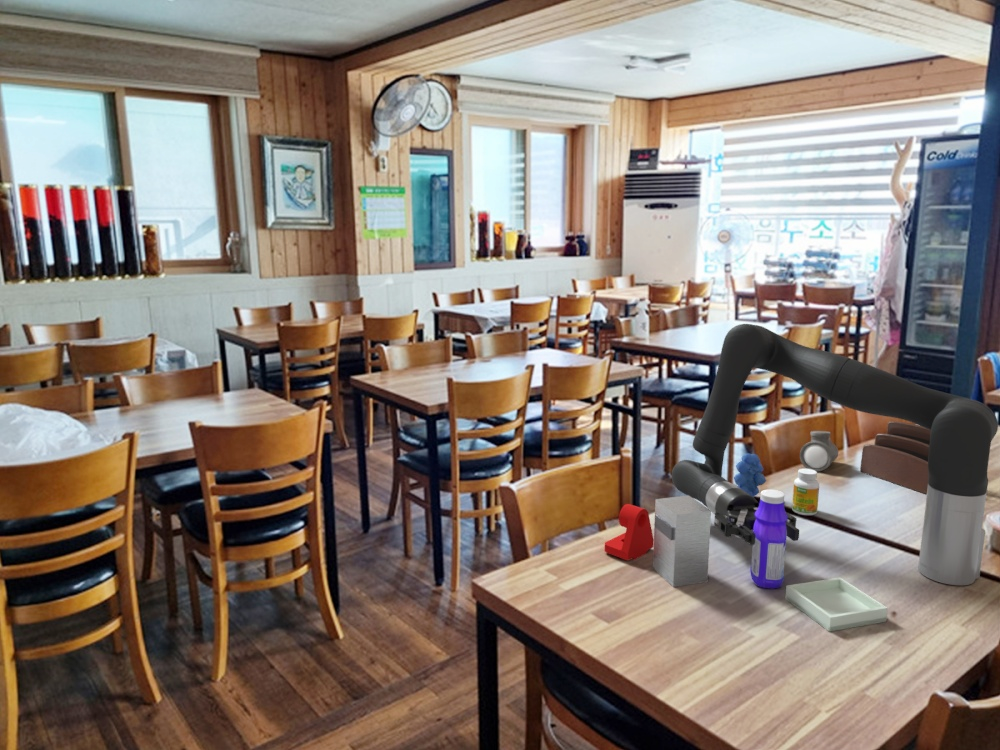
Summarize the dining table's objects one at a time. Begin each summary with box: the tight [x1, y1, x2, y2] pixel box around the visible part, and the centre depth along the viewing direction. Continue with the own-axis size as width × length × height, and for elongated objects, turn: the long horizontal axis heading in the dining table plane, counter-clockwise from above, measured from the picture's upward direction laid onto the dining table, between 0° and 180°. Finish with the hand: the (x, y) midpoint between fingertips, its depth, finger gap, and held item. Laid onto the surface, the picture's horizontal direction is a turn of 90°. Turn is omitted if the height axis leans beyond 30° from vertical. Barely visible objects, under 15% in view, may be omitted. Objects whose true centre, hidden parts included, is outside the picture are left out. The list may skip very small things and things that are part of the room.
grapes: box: [733, 453, 767, 497], centre depth 175 cm, size 12×7×12 cm, turn 135°
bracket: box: [603, 503, 654, 562], centre depth 148 cm, size 9×6×10 cm
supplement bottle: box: [791, 468, 820, 516], centre depth 168 cm, size 5×5×10 cm
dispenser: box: [652, 495, 712, 588], centre depth 138 cm, size 8×8×14 cm
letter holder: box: [859, 420, 931, 496], centre depth 188 cm, size 10×20×14 cm, turn 25°
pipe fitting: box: [799, 430, 839, 473], centre depth 200 cm, size 12×8×10 cm
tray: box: [785, 577, 888, 633], centre depth 126 cm, size 11×11×2 cm
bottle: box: [750, 488, 788, 589], centre depth 135 cm, size 7×6×17 cm
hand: (775, 537), depth 133 cm, fingers open, 8 cm apart
